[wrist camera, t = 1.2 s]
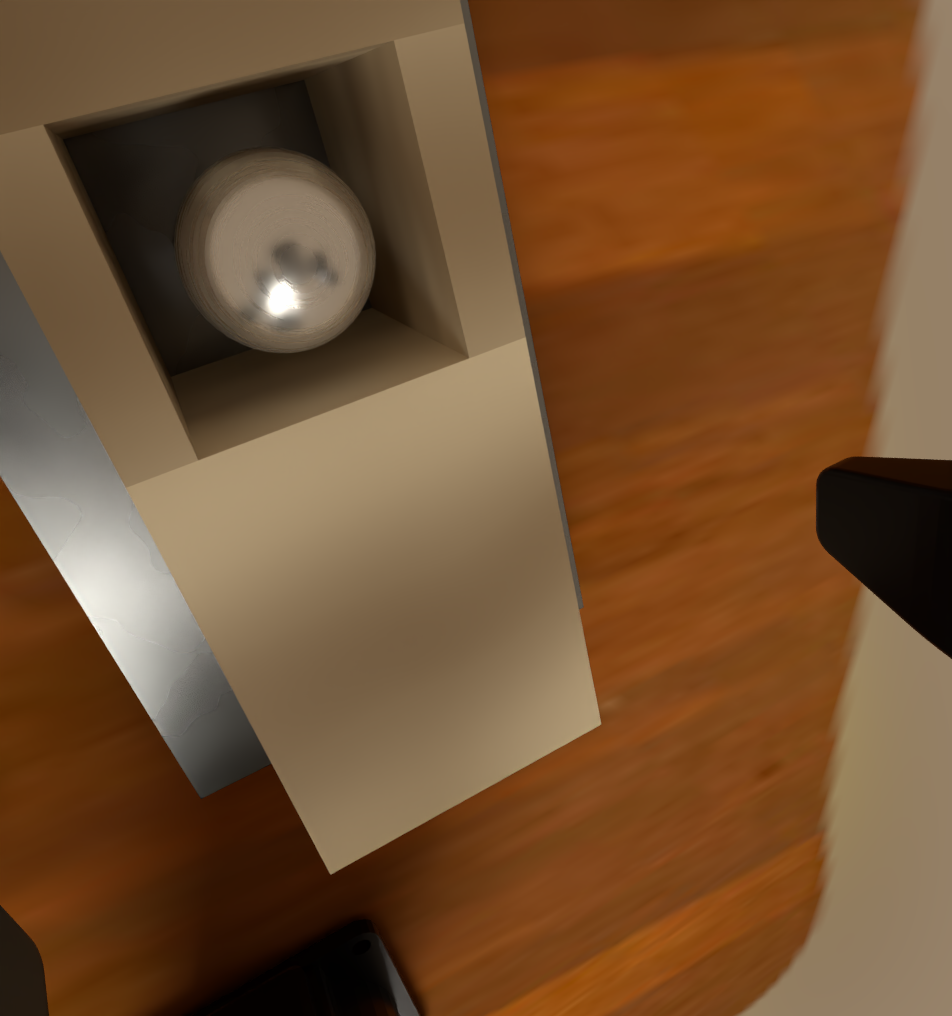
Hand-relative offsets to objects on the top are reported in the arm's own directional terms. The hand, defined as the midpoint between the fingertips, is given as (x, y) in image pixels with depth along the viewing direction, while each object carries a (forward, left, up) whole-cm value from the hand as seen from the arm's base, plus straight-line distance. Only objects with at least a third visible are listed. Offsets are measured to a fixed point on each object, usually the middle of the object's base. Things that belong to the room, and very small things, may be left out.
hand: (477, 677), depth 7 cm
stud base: (+2, 0, -8) cm, 8 cm away
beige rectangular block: (+1, 0, -7) cm, 7 cm away
